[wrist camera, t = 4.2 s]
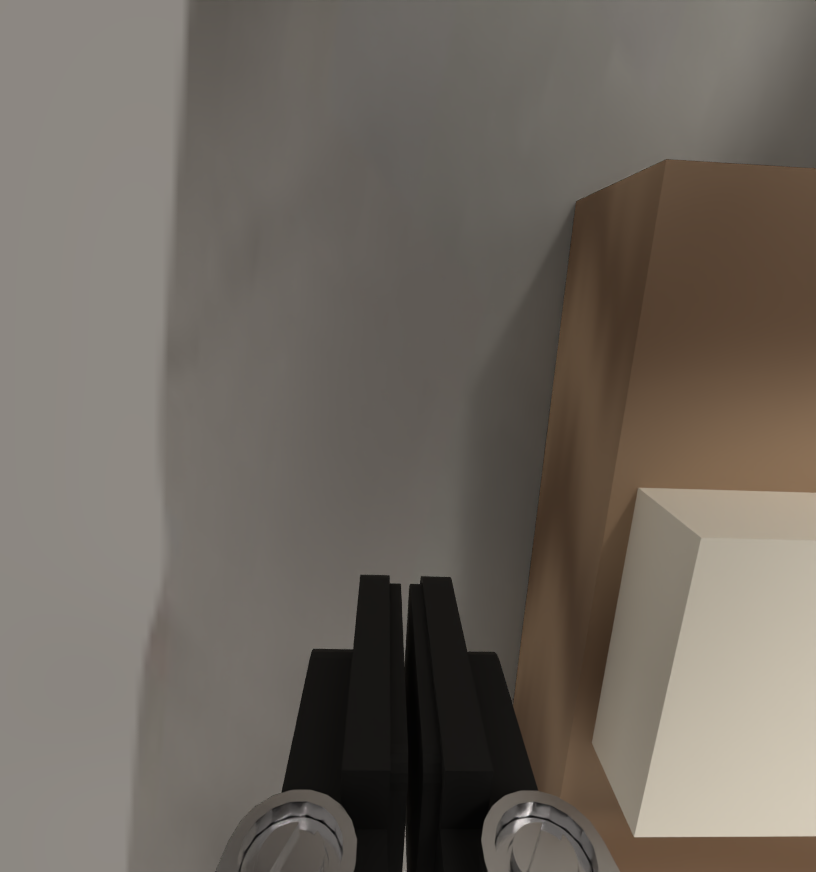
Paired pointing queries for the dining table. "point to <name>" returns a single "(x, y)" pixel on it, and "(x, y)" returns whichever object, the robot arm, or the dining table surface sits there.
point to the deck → (662, 440)
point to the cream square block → (714, 666)
